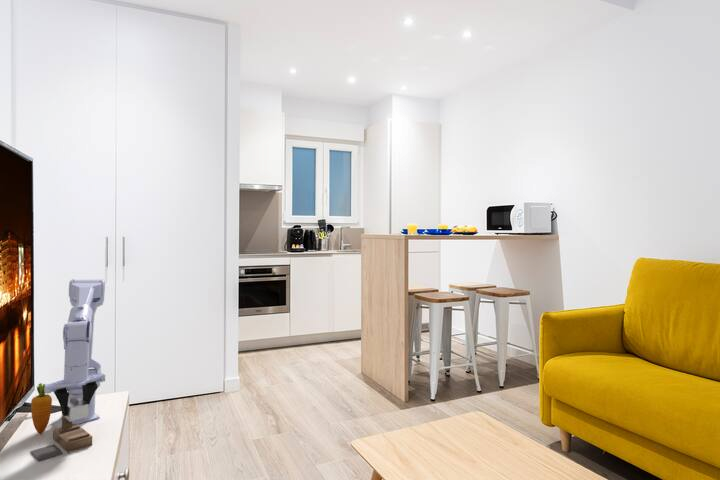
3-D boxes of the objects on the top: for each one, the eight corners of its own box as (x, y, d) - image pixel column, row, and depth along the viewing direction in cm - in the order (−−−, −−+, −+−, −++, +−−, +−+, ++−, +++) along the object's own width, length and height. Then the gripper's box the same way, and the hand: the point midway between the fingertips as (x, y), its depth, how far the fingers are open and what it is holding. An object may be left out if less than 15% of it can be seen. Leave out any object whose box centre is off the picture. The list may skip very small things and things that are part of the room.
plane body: (52, 438, 128) (53, 417, 128) (76, 431, 132) (76, 411, 132) (67, 452, 120) (68, 430, 120) (92, 445, 125) (92, 423, 125)
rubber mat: (30, 452, 120) (30, 451, 120) (54, 445, 124) (54, 444, 124) (38, 461, 115) (39, 460, 115) (63, 454, 119) (63, 452, 119)
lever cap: (62, 415, 125) (62, 399, 125) (80, 410, 129) (80, 395, 129) (69, 421, 122) (70, 405, 121) (88, 416, 125) (88, 401, 125)
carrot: (32, 432, 131) (34, 381, 131) (52, 429, 133) (54, 379, 133) (27, 439, 126) (29, 386, 126) (48, 437, 128) (50, 385, 128)
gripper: (51, 373, 117) (49, 424, 117) (110, 362, 128) (108, 409, 128) (42, 366, 121) (40, 416, 122) (100, 356, 133) (98, 402, 133)
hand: (75, 412), depth 125 cm, fingers closed on lever cap, 4 cm apart
